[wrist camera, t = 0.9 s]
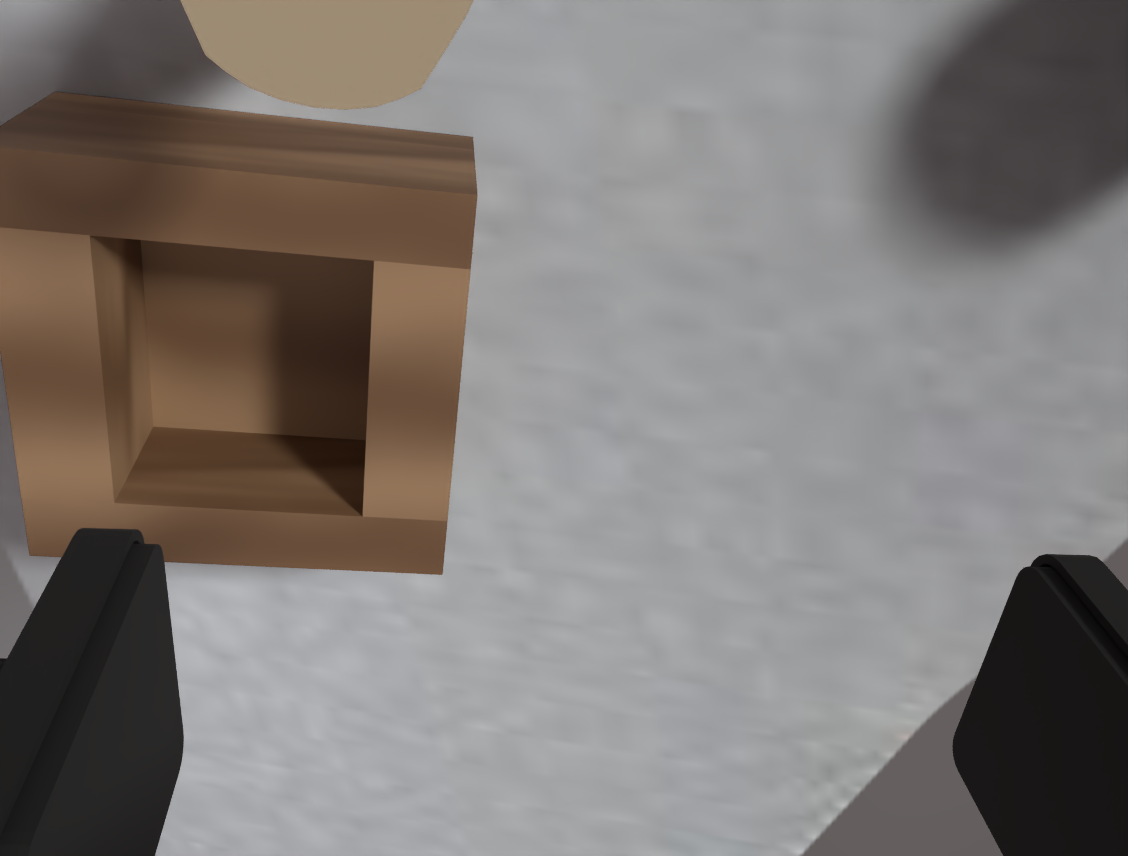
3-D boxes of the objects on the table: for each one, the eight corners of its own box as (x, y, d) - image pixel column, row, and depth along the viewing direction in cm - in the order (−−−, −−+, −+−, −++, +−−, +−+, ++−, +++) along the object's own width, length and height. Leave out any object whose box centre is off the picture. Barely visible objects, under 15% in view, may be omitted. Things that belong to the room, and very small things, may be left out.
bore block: (54, 91, 30) (-30, 144, 25) (472, 137, 31) (477, 194, 26) (91, 451, 35) (29, 555, 30) (443, 472, 37) (442, 574, 32)
